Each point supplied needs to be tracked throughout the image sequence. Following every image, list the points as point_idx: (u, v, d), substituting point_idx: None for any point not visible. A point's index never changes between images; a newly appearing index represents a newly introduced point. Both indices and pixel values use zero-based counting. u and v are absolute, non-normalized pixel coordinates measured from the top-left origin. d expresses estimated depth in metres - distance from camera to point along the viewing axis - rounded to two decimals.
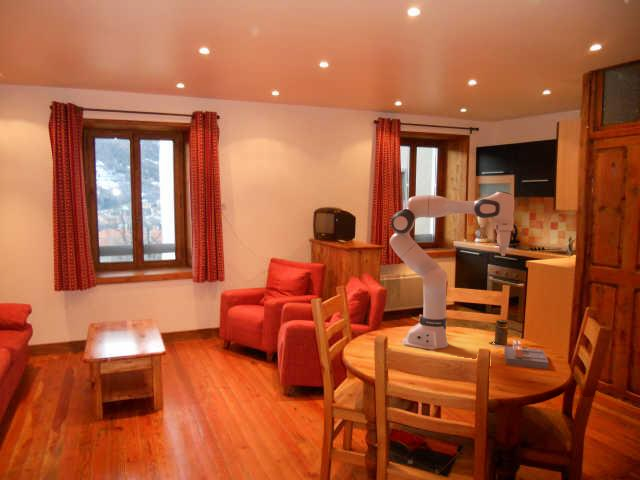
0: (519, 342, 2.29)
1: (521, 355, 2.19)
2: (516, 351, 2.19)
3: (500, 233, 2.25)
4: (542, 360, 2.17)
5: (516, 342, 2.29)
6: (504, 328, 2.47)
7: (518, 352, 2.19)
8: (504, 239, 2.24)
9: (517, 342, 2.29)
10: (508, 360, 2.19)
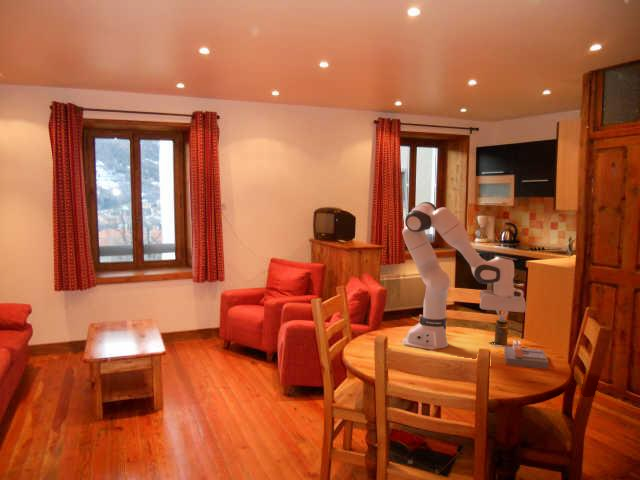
0: (519, 342, 2.29)
1: (521, 355, 2.19)
2: (516, 351, 2.19)
3: None
4: (542, 360, 2.17)
5: (516, 342, 2.29)
6: (504, 328, 2.47)
7: (518, 352, 2.19)
8: None
9: (517, 342, 2.29)
10: (508, 360, 2.19)
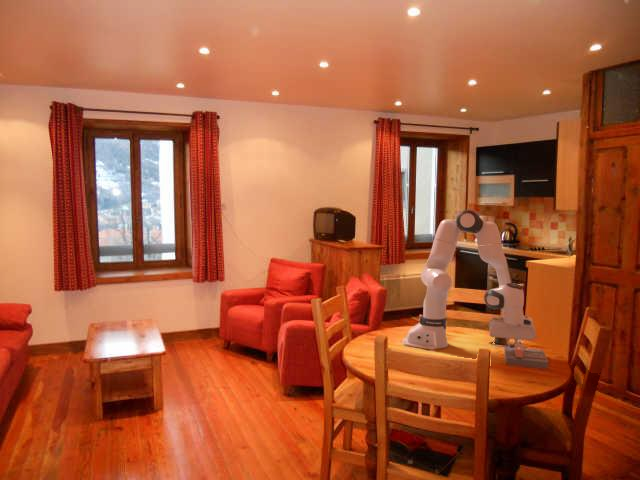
0: (522, 342, 2.29)
1: (521, 355, 2.19)
2: (516, 351, 2.19)
3: (534, 327, 2.25)
4: (542, 360, 2.17)
5: (519, 342, 2.29)
6: None
7: (518, 352, 2.19)
8: None
9: (520, 342, 2.29)
10: (508, 360, 2.19)
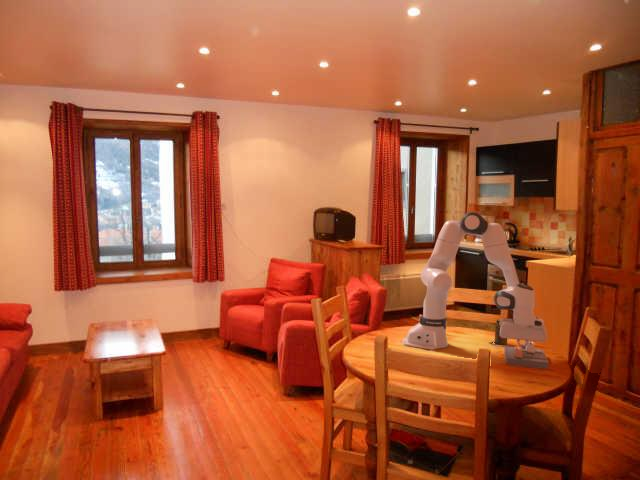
0: (533, 343, 2.28)
1: (521, 355, 2.19)
2: (516, 351, 2.19)
3: None
4: (542, 360, 2.17)
5: (530, 343, 2.28)
6: None
7: (518, 352, 2.19)
8: None
9: (531, 343, 2.27)
10: (508, 360, 2.19)
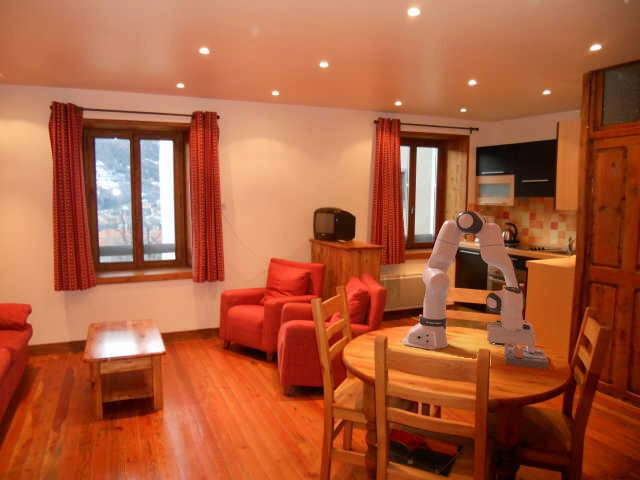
0: None
1: (521, 355, 2.19)
2: (516, 351, 2.19)
3: (533, 332, 2.17)
4: (542, 360, 2.17)
5: None
6: None
7: (518, 352, 2.19)
8: None
9: None
10: (508, 360, 2.19)
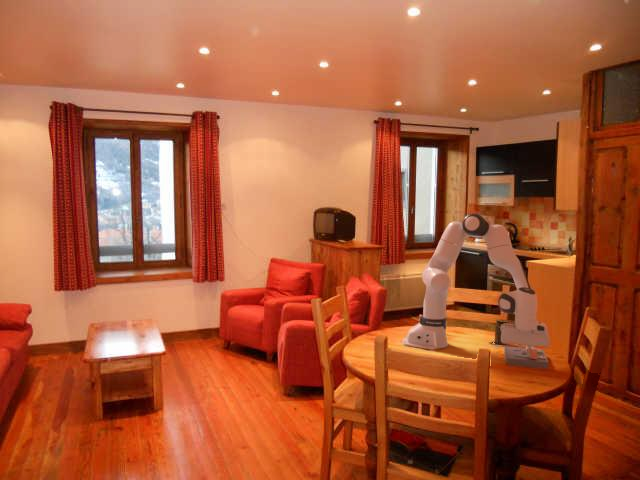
0: None
1: (535, 356, 2.17)
2: (530, 352, 2.18)
3: None
4: (542, 360, 2.17)
5: None
6: None
7: (532, 353, 2.17)
8: None
9: None
10: (508, 360, 2.19)
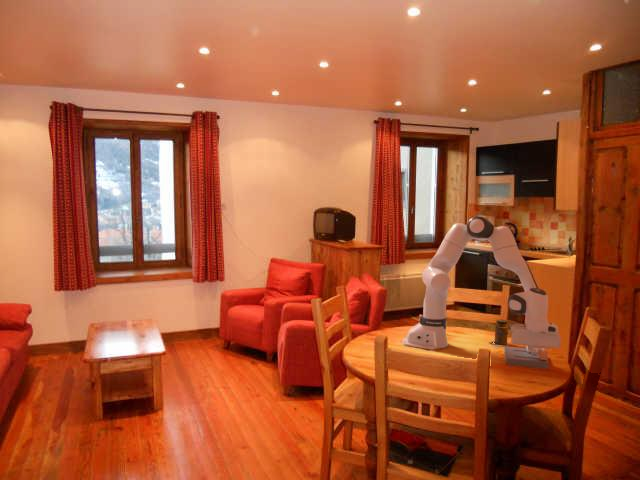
0: None
1: (546, 357, 2.16)
2: (541, 353, 2.16)
3: None
4: (542, 360, 2.17)
5: None
6: (504, 328, 2.47)
7: (543, 354, 2.16)
8: None
9: None
10: (508, 360, 2.19)
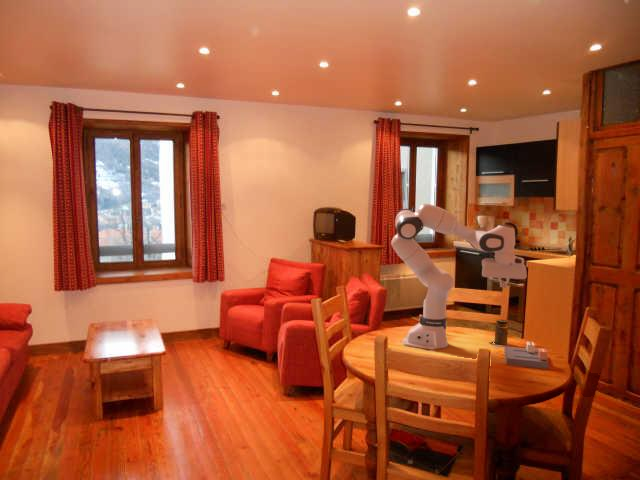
0: (533, 343, 2.28)
1: (546, 357, 2.16)
2: (540, 353, 2.16)
3: None
4: (542, 360, 2.17)
5: (530, 343, 2.28)
6: (504, 328, 2.47)
7: (543, 354, 2.16)
8: None
9: (531, 343, 2.27)
10: (508, 360, 2.19)
